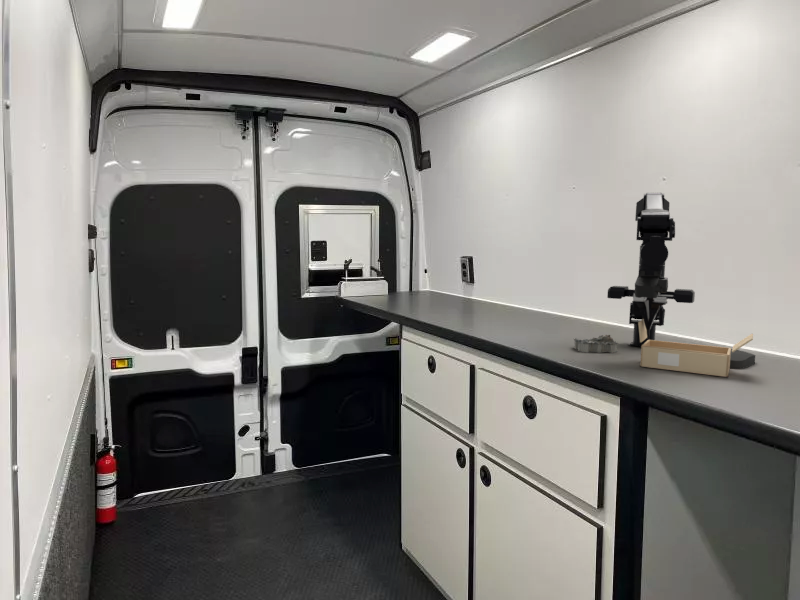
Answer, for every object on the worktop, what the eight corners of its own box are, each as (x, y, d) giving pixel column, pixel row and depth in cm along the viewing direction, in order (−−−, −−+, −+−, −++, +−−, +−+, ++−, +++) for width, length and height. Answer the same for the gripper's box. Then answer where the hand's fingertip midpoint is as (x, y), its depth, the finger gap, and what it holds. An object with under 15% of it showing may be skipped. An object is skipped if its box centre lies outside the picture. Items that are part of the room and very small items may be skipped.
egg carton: (611, 349, 158) (612, 334, 158) (619, 354, 151) (620, 339, 150) (572, 347, 159) (572, 333, 159) (578, 353, 152) (579, 337, 151)
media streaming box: (758, 363, 143) (759, 351, 143) (741, 371, 133) (742, 359, 133) (696, 354, 154) (697, 343, 153) (675, 361, 143) (676, 349, 143)
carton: (647, 358, 144) (648, 339, 144) (729, 368, 135) (731, 347, 134) (639, 367, 135) (641, 346, 134) (727, 377, 125) (729, 355, 125)
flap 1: (641, 342, 135) (639, 322, 135) (640, 342, 135) (638, 322, 135) (647, 337, 142) (645, 318, 142) (645, 337, 143) (644, 318, 142)
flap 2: (733, 345, 133) (752, 333, 130) (734, 346, 133) (753, 334, 130) (731, 351, 126) (751, 338, 123) (732, 352, 125) (752, 339, 123)
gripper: (604, 264, 135) (600, 330, 136) (692, 267, 125) (688, 338, 127) (613, 263, 144) (610, 324, 146) (696, 266, 134) (692, 331, 136)
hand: (648, 329), depth 138 cm, fingers closed
